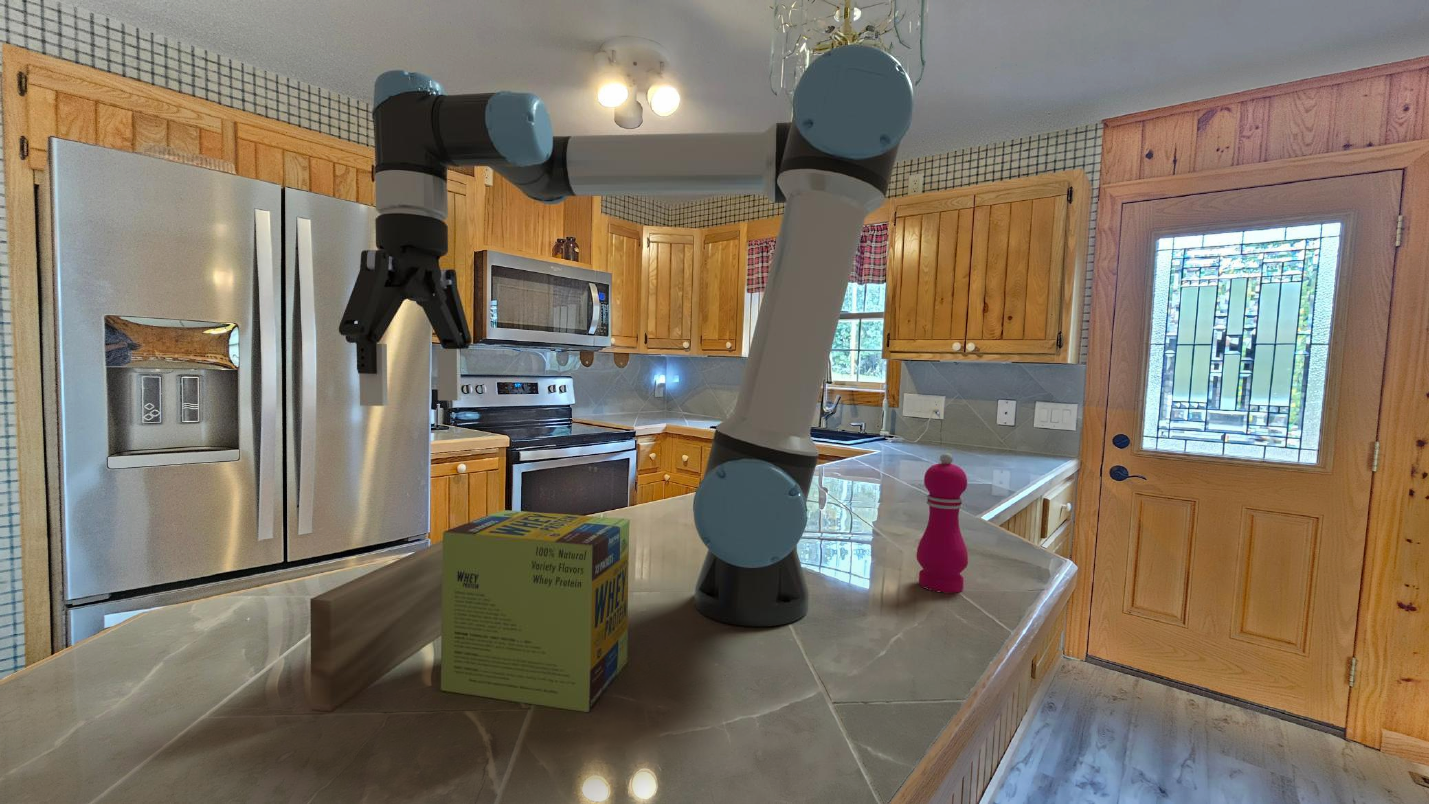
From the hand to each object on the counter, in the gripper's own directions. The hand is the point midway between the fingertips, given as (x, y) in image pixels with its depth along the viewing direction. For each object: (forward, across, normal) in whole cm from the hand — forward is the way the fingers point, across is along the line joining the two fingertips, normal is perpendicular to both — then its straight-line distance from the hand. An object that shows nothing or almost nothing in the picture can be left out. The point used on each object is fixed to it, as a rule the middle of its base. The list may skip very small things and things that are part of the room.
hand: (415, 403), depth 73 cm
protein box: (+27, +8, +19) cm, 34 cm away
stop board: (+26, +8, +3) cm, 28 cm away
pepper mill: (+28, -30, +65) cm, 77 cm away
